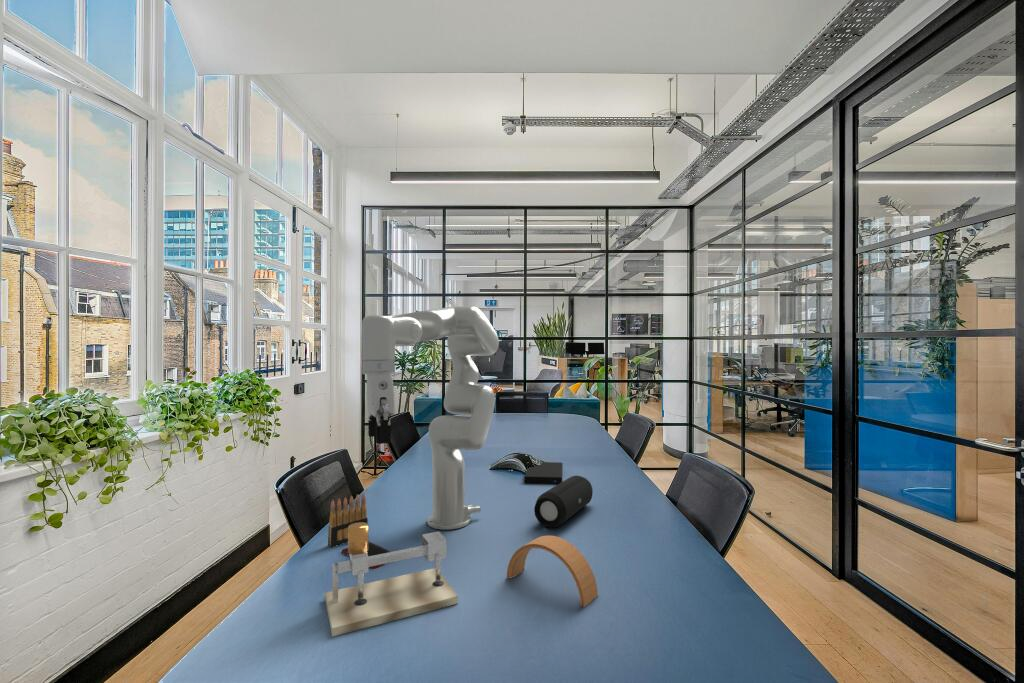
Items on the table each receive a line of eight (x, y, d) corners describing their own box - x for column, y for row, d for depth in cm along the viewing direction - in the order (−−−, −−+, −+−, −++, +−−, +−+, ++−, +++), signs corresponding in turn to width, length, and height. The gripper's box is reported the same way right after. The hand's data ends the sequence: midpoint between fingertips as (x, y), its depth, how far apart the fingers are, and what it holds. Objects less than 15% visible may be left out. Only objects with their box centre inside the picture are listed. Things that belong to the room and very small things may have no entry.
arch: (522, 568, 112) (521, 526, 112) (598, 596, 99) (597, 548, 99) (506, 578, 107) (506, 534, 107) (583, 608, 95) (583, 558, 95)
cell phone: (372, 571, 112) (372, 567, 112) (340, 553, 121) (340, 550, 121) (399, 559, 118) (399, 555, 118) (367, 544, 127) (367, 540, 127)
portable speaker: (562, 533, 133) (562, 497, 133) (531, 526, 138) (531, 492, 138) (595, 506, 155) (595, 475, 155) (567, 501, 160) (567, 471, 160)
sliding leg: (367, 586, 100) (366, 521, 100) (371, 598, 95) (371, 529, 95) (347, 591, 98) (346, 524, 98) (350, 603, 93) (350, 533, 93)
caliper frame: (439, 571, 107) (439, 531, 107) (448, 582, 102) (447, 540, 102) (331, 595, 97) (330, 551, 97) (334, 610, 92) (334, 563, 92)
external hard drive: (562, 469, 202) (562, 462, 202) (562, 485, 179) (561, 477, 179) (529, 468, 204) (529, 461, 204) (524, 484, 181) (524, 476, 181)
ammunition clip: (331, 547, 124) (330, 501, 124) (327, 545, 126) (327, 500, 126) (368, 535, 132) (368, 492, 132) (365, 534, 133) (365, 491, 133)
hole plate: (436, 574, 109) (436, 567, 109) (457, 603, 97) (457, 595, 97) (325, 599, 98) (325, 592, 98) (332, 636, 86) (332, 627, 86)
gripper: (403, 368, 107) (403, 444, 107) (387, 365, 123) (387, 432, 122) (368, 369, 104) (369, 448, 104) (356, 366, 119) (357, 435, 119)
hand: (379, 439), depth 113 cm, fingers open, 9 cm apart
